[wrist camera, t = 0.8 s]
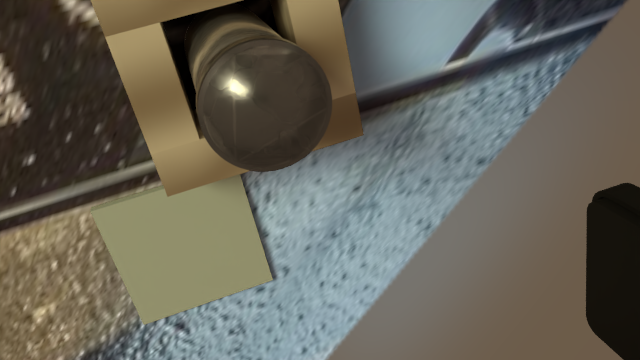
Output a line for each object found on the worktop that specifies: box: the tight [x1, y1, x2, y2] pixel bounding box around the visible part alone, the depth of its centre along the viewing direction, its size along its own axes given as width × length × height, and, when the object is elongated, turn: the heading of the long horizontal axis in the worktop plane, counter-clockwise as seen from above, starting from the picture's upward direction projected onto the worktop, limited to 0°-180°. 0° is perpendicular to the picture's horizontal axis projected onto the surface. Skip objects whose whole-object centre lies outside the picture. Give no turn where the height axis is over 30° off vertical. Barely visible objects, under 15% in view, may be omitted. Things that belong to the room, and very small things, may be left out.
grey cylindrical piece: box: [184, 3, 332, 172], centre depth 27 cm, size 5×5×12 cm
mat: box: [90, 174, 273, 325], centre depth 36 cm, size 9×9×1 cm
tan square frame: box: [91, 0, 364, 197], centre depth 30 cm, size 11×11×5 cm
